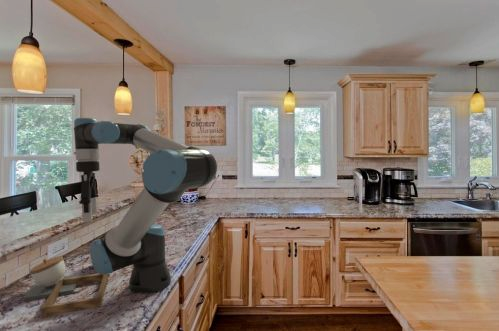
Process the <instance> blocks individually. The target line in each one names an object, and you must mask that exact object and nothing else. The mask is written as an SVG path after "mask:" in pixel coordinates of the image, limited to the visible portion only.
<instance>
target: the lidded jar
mask: <svg viewBox="0 0 499 331" xmlns="http://www.w3.org/2000/svg"><path fill="white" fill-rule="evenodd" d="M66 270H67V268H66V264H65V261H64V256H62V255H58V256H55V257H52V258H49V259H47V258H44V259H42V262H41V263H39V264H37V265H35V266H34V267H32V268H31V269H30V270H29V274H30V275H31V277H32V279H33V280H34V282H35V283H36V282H37V283H38V284H40V285H43V286H45V287H47V286H51V285H53V284H55V283H57V282H59V281H60V280H62V279H63V277H64V276H65V274H66Z"/></svg>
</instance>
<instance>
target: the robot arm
mask: <svg viewBox="0 0 499 331" xmlns="http://www.w3.org/2000/svg"><path fill="white" fill-rule="evenodd" d="M73 123H74V124H73V131H74V145H75V146H74V147H75V151H74V152H73V155H75V160H76V163H75V169H76V172H77V173H83V174H81V175H80V178H81V183H80V185H81V186H80V200H79V201H78V204H79V205H81V211H82V212H81V214H82V223H90V222H93V216H92V215H98V205H97V203H98V202H97V198H99V194H98V193H97V192H98V191H97V184H96V173H95V172H99V171H100V161H98V160H100V148H99V145H100V144H101V145H102V144H107V145H108V144H109V145H111V144H113V145H116V144H117V145H120V144H121V145H131V146H134V147H137V148H138V149H141V150H143V151H145V152H147V153H150V154H149V155H148V156H147V157H146V159H145V160H144V162H143V164H142V168H141V169H142V170H143V171H142V172H141V179H142V184H143V189H142V190H141V192H140V193H139V195H137V197H136V198H135V200H134V202H133V203H132V205H131V206H130V208H129V209H128V210H127V212H126V213H125V215H124V216H123V217H122V219H121V220H120V222H119V224H118V225H116V226H114V227H111V228H110V229H109V230H108V231H107V232H106V233H107V234H106V235H105V237H104V238H102V239H100V238H97V239H95V240H93V241H92V242H91V243H90V246H89V256H90V260H91V265H92V266H93V268H94V270H95V271H96V272H97V274H99V273H100V274H102V275H105V274H108V275H109V274H112V273H113V272H116V271H119V270H121V269H122V270H123V269H124V268H128V267H129V266H132V265H133V266H132V270H131V273H130V277H129V281H128V287H129V290H130V291H131V292H133V293H135V294H149V293H154V292H158V291H161V290H164V289H165V288H168V286H170V284H171V282H172V280H171V279H172V276H171V272H170V271H169V268H168V265H167V262H166V234H165V228H164V226H163V225H162V224H158V223H155V222H157V220H158V219H159V217H160V215H162V213H163V212H164V211H165V210H166V208H167V207H168V206H169V204H170V205H171V204H175V203H177V202H178V201H179V200H180V199H181V197H182V196H183V195H185V193H186V192H187V191H188V190H191V189H196V188H202V187H206V186H208V185H209V184H210V183H211V182H212V181H213V180H214V179H215V177H216V175H217V172H218V163H217V160H216V158H215V157H214V155H213V153H211V152H210V151H208V150H206V149H205V148H201V147H198V146H196V145H189V146H188V145H186V144H182V143H180V142H179V141H176V140H174V139H171V138H170V137H169V138H168V137H167V136H163V135H161V134H159V133H156V132H154V131H152V130H151V129H150V128H149V126H147V125H143V124H139V123H138V124H133V123H131V124H130V123H121V122H120V123H117V122H114V121H110V120H101V121H98V120H97V119H96V118H94V117H93V118H92V117H90V118H89V117H79V118H77V117H76V118H75V119H74V122H73Z"/></svg>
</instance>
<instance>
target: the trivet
mask: <svg viewBox="0 0 499 331" xmlns="http://www.w3.org/2000/svg"><path fill="white" fill-rule="evenodd" d="M79 276H82V274H81V273H79V274H72V275H67V276H66V275H64V276H63V279H65V278H72V277H79ZM57 283H58V282H57ZM57 283H55V284H53V285H51V286H47V287H45V286H43V285H40V284H38V283H37V282H36V281H35V283H34V284H33V286H31V288H30V289H29V290H28V291H27V293H25V295H24V296H23V297H22V298H23V302H27V301H34V300H40V299H46V298H47V299H48V297H49V296H50V294H51V292H52V291H53V289H54V288H55V286H56V285H57ZM76 288H77V283H71V284H64V285H63V286H62V288H61V289H60V291H59V296H64V295H65V296H66V295H70V294H74V292H75V291H76V290H77V289H76Z"/></svg>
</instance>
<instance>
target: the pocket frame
mask: <svg viewBox="0 0 499 331" xmlns="http://www.w3.org/2000/svg"><path fill="white" fill-rule="evenodd" d="M108 282H109V274H105V275H102V274H100V273H94V274H87V275H81V276H79V277H72V278H65V279H62V280H60V281H59V282H58V283H57V285H56V286H55V288H54V289H53V291H52V292H51V294H50V296H49V297H47V299H46V300H45V302H44V303H43V305H42V306H41V308H40V309H41V318H48V317H54V316H59V315H64V314H70V313H77V312H80V311H85V310H86V311H87V310H93V309H97V308H101V307H102V305H103V301H104V300H103V299H104V297H105V293H106V290H107V285H108ZM71 283H77V286H82V285H84V286H85V285H90V284H91V285H92V284H96V283H100V285H99V290H98V293H97V296H95V297H89V298H83V299H78V300H71V301H67V302H60V303H56V301H57V299H58V298H59V296H60V295H59V291H60V289H61V288H62V286H63V285H64V284H71Z"/></svg>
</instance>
